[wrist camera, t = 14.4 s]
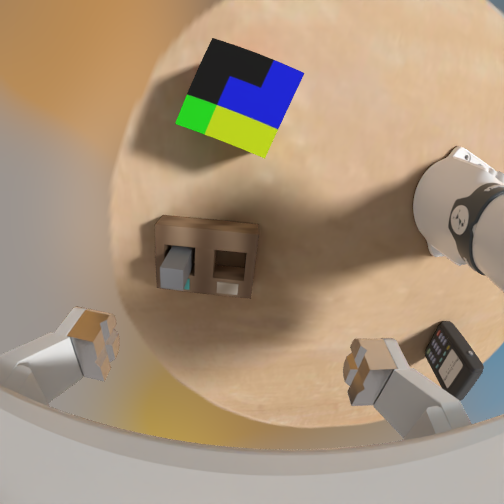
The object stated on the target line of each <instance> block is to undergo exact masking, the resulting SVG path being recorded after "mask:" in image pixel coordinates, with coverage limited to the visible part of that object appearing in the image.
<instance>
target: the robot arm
mask: <svg viewBox="0 0 504 504" xmlns="http://www.w3.org/2000/svg"><path fill="white" fill-rule="evenodd" d="M465 155H466V158H465ZM413 213H414V219H415V222H416V225H417V227H418V229H419V231H420V232H421V234H422V235H423V236H424V237H425V239H426V240H427V244H428V249H429V252H430V254H432V255H433V256H435V257H440V256H446V257H447V258H448V259H450V260H451V261H452V262H454V263H455V264H457V265H459V266H461V265H462V264H463V265H464V264H467V265H468V266H469V267H471V268H472V269H473V270H475V271H477V272H478V273H480V274H481V275H485V276H487V277H488V278H489V279H490V280H491V281H492V282H493V283H494V284H495V285H496V286H497V287H498V288H500V289H501V290H502V291H503V292H504V174H503V173H502V172H499V171H495V170H494V169H493V168H492V167H490V166H489V165H488V164H486V163H485V162H484V161H482V160H481V159H479V158H478V157H477V156H475V155H474V154H472V153H471V152H470V151H468V150H467V149H465V148H463V147H461V146H457V147H456V148H454V149H453V151H452V152H451V153H450V154H449V156H448V157H446V158H444V159H442V160H440V161H438V162H436V163H435V164H433V165H432V166H431V167H430V168H429V169H428V170H427V171H426V172H425V173H424V175H423V176H422V178H421V179H420V181H419V183H418V186H417V188H416V191H415V195H414V202H413ZM115 326H116V319H115V316H114V315H113V314H110V313H106V312H101V311H96V310H92V309H87V308H82V307H78V306H76V307H74V308H73V309H72V310H71V311H70V313H69V314H68V315H67V316H66V318H65V319H64V320H63V322H62V323H61V324H60V326H59V327H58V328H57V329H56V331H55V332H54V333H52V332H50V333H47V334H45V335H43V336H41V337H39V338H37V339H35V340H32V341H30V342H28V343H26V344H23V345H21V346H19V347H17V348H15V349H13V350H10V351H8V352H6V353H4V354H2V355H0V504H504V414H503V415H500V416H497V417H494V418H491V419H488V420H485V421H482V422H479V423H475V424H471V422H470V420H469V418H468V416H467V414H466V412H465V410H464V408H463V406H462V404H461V402H460V401H459V400H458V399H457V398H455V397H454V396H452V395H451V394H449V393H448V392H447V391H445V390H444V389H442V388H441V387H440V386H438V385H437V384H435V383H434V382H432V381H431V380H430V379H428V378H427V377H425V376H424V375H423V374H421V373H420V372H418V371H417V370H415V369H414V368H412V369H410V367H409V365H408V363H407V361H406V359H405V357H404V355H403V353H402V351H401V349H400V347H399V345H398V343H397V341H396V340H395V339H394V338H381V339H354V340H353V342H352V344H351V347H350V348H351V351H352V353H350V354H349V355H348V356H347V357H346V359H345V362H344V367H343V377H344V380H345V382H346V383H347V384H348V385H349V386H350V387H349V389H348V395H349V399H350V402H351V406H363V405H374V408H375V409H376V410H377V411H378V412H379V413H380V414H381V415H382V416H383V417H384V418H385V419H386V420H387V421H388V422H389V423H390V424H391V425H392V426H393V427H394V429H396V431H397V432H398V433H399V434H400V435H401V436H402V437H403V440H402V441H395V442H389V443H382V444H374V445H366V446H356V447H344V448H330V449H303V450H277V449H250V448H236V447H225V446H215V445H206V444H198V443H191V442H185V441H178V440H171V439H167V438H161V437H156V436H151V435H146V434H141V433H137V432H132V431H128V430H124V429H120V428H117V427H113V426H109V425H105V424H102V423H98V422H95V421H92V420H88V419H85V418H82V417H79V416H76V415H72V414H70V413H67V412H64V411H61V410H58V409H56V408H53V407H50V406H49V404H48V403H49V402H51V401H52V400H53V399H55V398H56V397H58V396H59V395H60V394H62V393H63V392H64V391H66V390H67V389H68V388H70V387H71V386H73V385H74V384H75V383H77V382H78V381H79V380H81V379H82V378H83V377H87V378H92V379H96V380H100V381H105V380H106V377H107V375H108V373H109V371H110V369H111V366H110V362H111V361H113V360H115V359H116V356H117V354H118V350H119V335H118V333H117V331H116V330H115V329H114V327H115Z"/></svg>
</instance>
